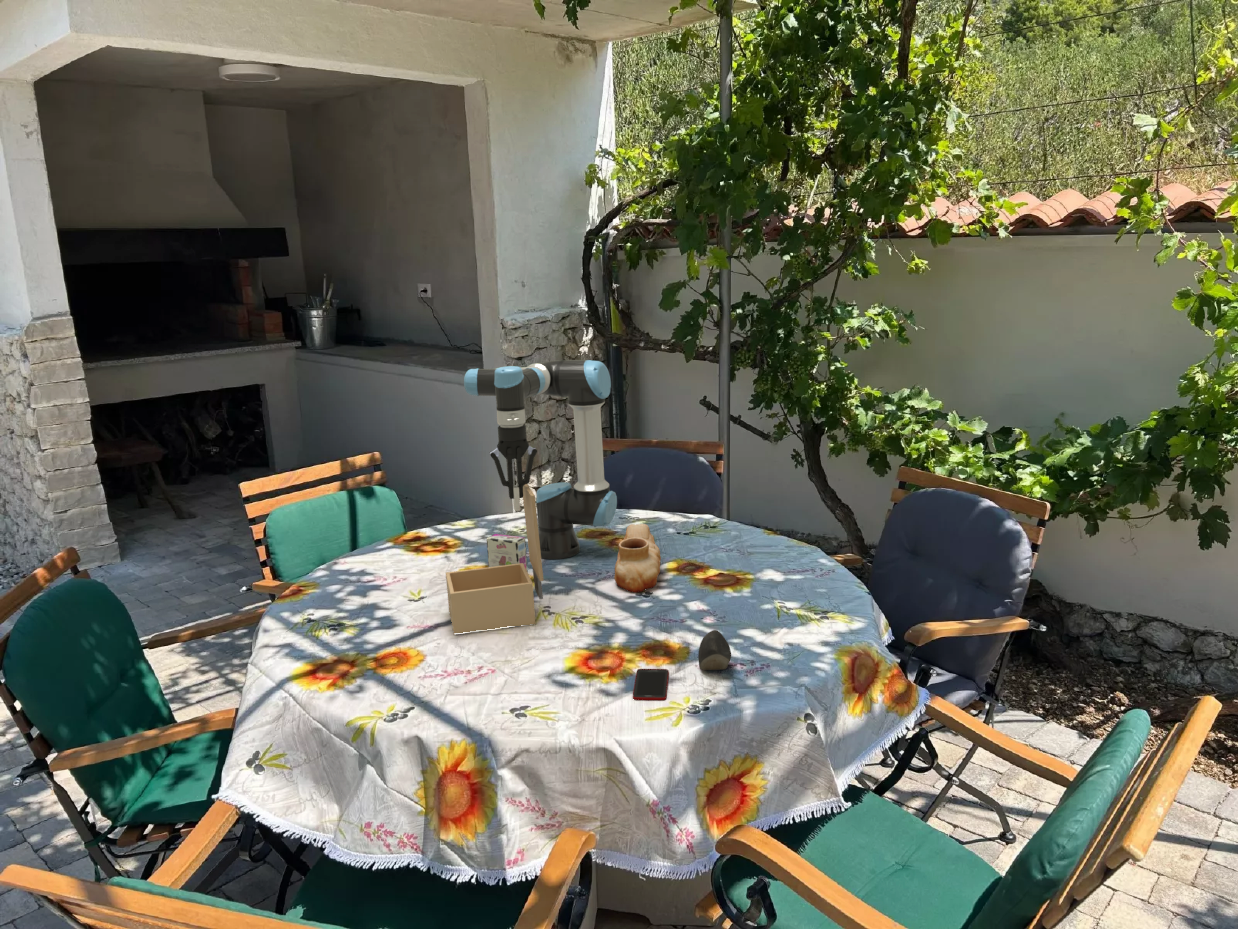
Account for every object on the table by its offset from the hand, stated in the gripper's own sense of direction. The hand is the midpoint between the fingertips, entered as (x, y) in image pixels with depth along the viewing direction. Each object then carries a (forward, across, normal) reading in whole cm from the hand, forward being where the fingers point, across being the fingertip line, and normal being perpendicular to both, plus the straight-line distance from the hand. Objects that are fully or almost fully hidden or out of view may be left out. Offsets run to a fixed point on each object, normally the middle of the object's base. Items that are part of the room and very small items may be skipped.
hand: (516, 509), depth 256 cm
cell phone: (+31, +22, -52) cm, 65 cm away
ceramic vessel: (+31, +38, +16) cm, 51 cm away
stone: (+31, +39, -49) cm, 70 cm away
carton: (+31, -9, 0) cm, 32 cm away
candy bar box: (+31, -1, +21) cm, 37 cm away
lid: (+10, +4, 0) cm, 10 cm away
